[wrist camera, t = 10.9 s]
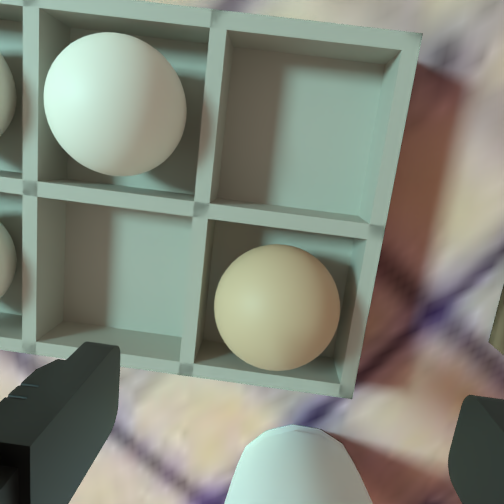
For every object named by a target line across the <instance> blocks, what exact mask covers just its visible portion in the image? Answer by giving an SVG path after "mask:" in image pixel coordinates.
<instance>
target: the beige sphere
mask: <svg viewBox="0 0 504 504" xmlns="http://www.w3.org/2000/svg"><path fill="white" fill-rule="evenodd" d="M214 313H215V320H216V324H217V328H218V330H219V333H220V335H221V337H222V338H223V340H224V342H225V343H226V345H227V346H228V347H229V349H230V350H231V351H232V352H233V353H234V354H235V355H236V356H238V357H239V358H240V359H242V360H243V361H245V362H246V363H248V364H250V365H252V366H254V367H257V368H260V369H265V370H270V371H285V370H291V369H295V368H298V367H300V366H303V365H305V364H307V363H309V362H310V361H312V360H314V359H315V358H316V357H318V356H319V355H320V354H321V353H322V352H323V351H324V350H325V348H326V347H327V346H328V345H329V343H330V342H331V340H332V338H333V336H334V334H335V332H336V329H337V326H338V322H339V316H340V300H339V294H338V290H337V287H336V284H335V282H334V280H333V278H332V276H331V274H330V273H329V271H328V270H327V269H326V267H325V266H324V265H323V264H322V263H321V262H320V261H319V260H318V259H317V258H316V257H314V256H313V255H311V254H310V253H308V252H306V251H304V250H302V249H300V248H297V247H294V246H289V245H282V244H271V245H264V246H260V247H257V248H254V249H251V250H249V251H247V252H245V253H244V254H242V255H241V256H239V257H238V258H237V259H236V260H235V261H233V262H232V264H231V265H230V266H229V267H228V268H227V269H226V271H225V272H224V274H223V275H222V277H221V279H220V282H219V284H218V287H217V290H216V294H215V300H214Z"/></svg>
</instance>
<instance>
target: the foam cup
mask: <svg viewBox="0 0 504 504" xmlns="http://www.w3.org/2000/svg"><path fill="white" fill-rule="evenodd" d="M224 504H373V503H372V500H371V498H370V496H369V494H368V492H367V489H366V487H365V485H364V483H363V481H362V478H361V476H360V474H359V472H358V471H357V469H356V466H355V464H354V462H353V461H352V459H351V457H350V456H349V454H348V452H347V451H346V449H345V447H344V446H343V444H342V443H340V442H339V441H337V440H336V439H334V438H333V437H331V436H330V435H328V434H327V433H325V432H324V431H322V430H321V429H316V428H310V427H304V426H298V425H293V424H292V425H288V426H284V427H280V428H275V429H271V430H267V431H265V432H264V433H262V434H261V435H260V436H259V437H257V438H256V439H255V440H253V441H252V442H251V443H250V444H248V445H247V446H246V447H245V449H244V451H243V454H242V456H241V458H240V460H239V463H238V465H237V467H236V471H235V473H234V476H233V478H232V481H231V484H230V488H229V491H228V494H227V497H226V500H225V503H224Z"/></svg>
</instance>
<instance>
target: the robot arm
mask: <svg viewBox="0 0 504 504" xmlns="http://www.w3.org/2000/svg"><path fill="white" fill-rule="evenodd" d="M120 355H121V354H120V348H119V346H117V345H110V344H102V343H95V342H88V341H86V342H84V343H83V344H82V345H81V346H80V347H79V348H78V349H77V350H76V351H75V352H74V353H73V354H72V355H71V356H70V357H69V358H68V359H67V360H60V359H57V360H55V361H53V362H51V363H49V364H47V365H45V366H42V367H40V368H38V369H36V370H35V371H34V372H33V373H32V374H31V375H30V376H28V377H27V378H26V379H25V380H24V381H23V382H22V383H21V386H17V387H16V388H15V389H14V390H13V391H12V392H11V393H10V394H9V395H8V398H6V397H5V398H4V399H3V400H2V401H1V402H0V504H68V503H69V502H70V500H71V498H72V497H73V495H74V493H75V492H76V490H77V488H78V487H79V485H80V483H81V482H82V480H83V478H84V477H85V475H86V473H87V472H88V470H89V468H90V467H91V465H92V463H93V462H94V460H95V458H96V457H97V455H98V453H99V451H100V450H101V448H102V446H103V445H104V443H105V441H106V440H107V438H108V436H109V435H110V433H111V431H112V428H113V426H114V423H115V419H116V415H117V410H118V398H119V378H120ZM448 468H449V475H450V479H451V482H452V484H453V487H454V488H455V490H456V492H457V494H458V496H459V498H460V500H461V502H462V504H504V400H503V399H496V398H489V397H481V396H474V395H469V396H467V397H466V398H465V399H464V401H463V403H462V406H461V410H460V414H459V418H458V421H457V425H456V429H455V433H454V436H453V440H452V444H451V448H450V452H449V458H448Z"/></svg>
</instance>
